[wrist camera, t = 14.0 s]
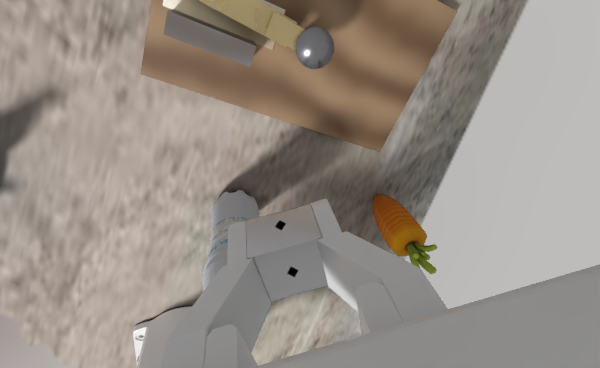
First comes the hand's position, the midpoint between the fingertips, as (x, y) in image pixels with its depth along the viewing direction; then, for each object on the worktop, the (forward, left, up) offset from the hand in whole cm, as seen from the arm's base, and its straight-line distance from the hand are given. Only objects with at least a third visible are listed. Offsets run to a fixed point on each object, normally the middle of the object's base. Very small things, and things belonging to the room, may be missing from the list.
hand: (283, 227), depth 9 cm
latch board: (+4, -5, -29) cm, 30 cm away
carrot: (-12, -24, -29) cm, 40 cm away
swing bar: (+5, +2, -28) cm, 28 cm away
